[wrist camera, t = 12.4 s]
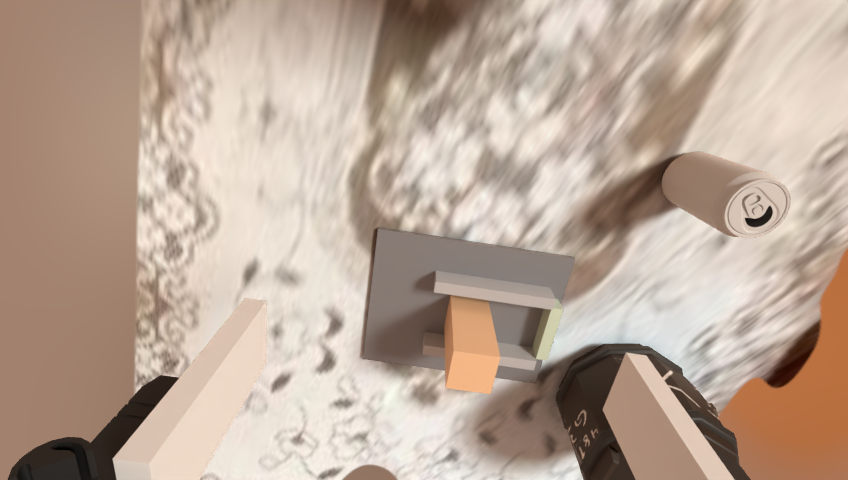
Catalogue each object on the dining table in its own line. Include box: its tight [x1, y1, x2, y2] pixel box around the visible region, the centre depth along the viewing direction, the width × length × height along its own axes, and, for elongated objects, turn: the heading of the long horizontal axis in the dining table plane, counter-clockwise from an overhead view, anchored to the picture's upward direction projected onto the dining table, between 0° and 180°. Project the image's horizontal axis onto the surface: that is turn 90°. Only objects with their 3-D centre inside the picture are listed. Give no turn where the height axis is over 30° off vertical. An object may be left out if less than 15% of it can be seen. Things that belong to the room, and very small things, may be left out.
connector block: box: [444, 295, 500, 394], centre depth 51 cm, size 5×5×12 cm
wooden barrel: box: [556, 344, 739, 480], centre depth 54 cm, size 18×18×16 cm
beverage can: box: [662, 152, 791, 238], centre depth 44 cm, size 6×6×12 cm
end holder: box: [363, 227, 575, 383], centre depth 56 cm, size 20×25×4 cm
